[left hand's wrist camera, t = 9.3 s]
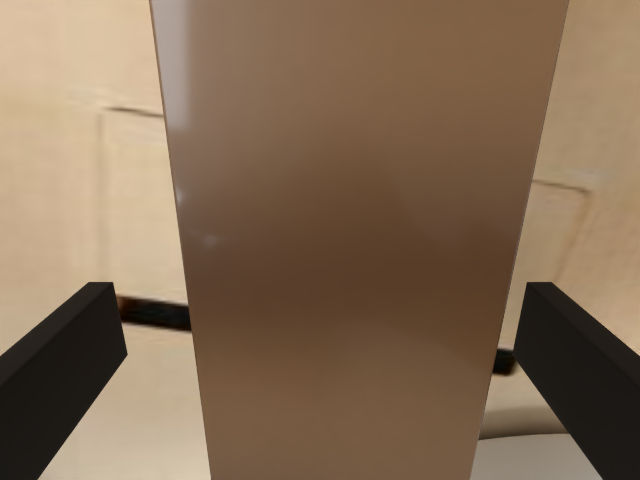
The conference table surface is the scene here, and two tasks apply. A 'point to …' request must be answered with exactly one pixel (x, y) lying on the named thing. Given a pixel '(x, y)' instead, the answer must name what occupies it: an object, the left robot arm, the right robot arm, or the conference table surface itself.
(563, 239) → the conference table surface
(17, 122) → the conference table surface
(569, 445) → the projector
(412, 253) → the bar
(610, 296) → the conference table surface
